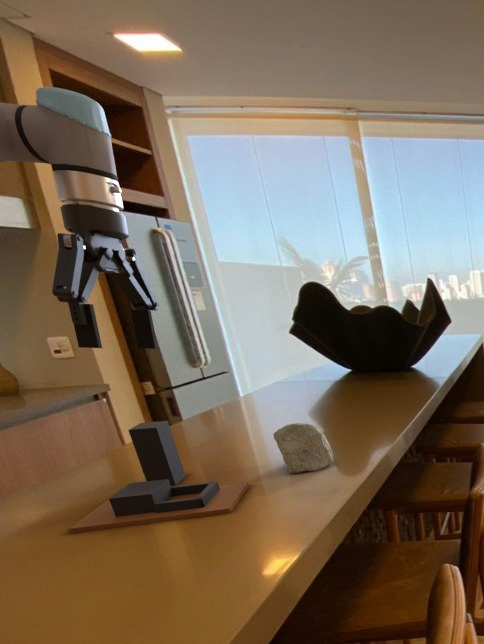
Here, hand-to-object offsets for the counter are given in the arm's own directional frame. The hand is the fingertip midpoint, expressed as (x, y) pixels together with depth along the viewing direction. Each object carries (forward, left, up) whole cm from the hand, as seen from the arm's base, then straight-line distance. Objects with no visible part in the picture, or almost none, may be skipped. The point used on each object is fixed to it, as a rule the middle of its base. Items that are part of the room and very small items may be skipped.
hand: (121, 348), depth 94 cm
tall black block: (-1, +1, -24) cm, 24 cm away
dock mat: (+11, -11, -24) cm, 29 cm away
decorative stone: (+19, +13, -25) cm, 34 cm away
